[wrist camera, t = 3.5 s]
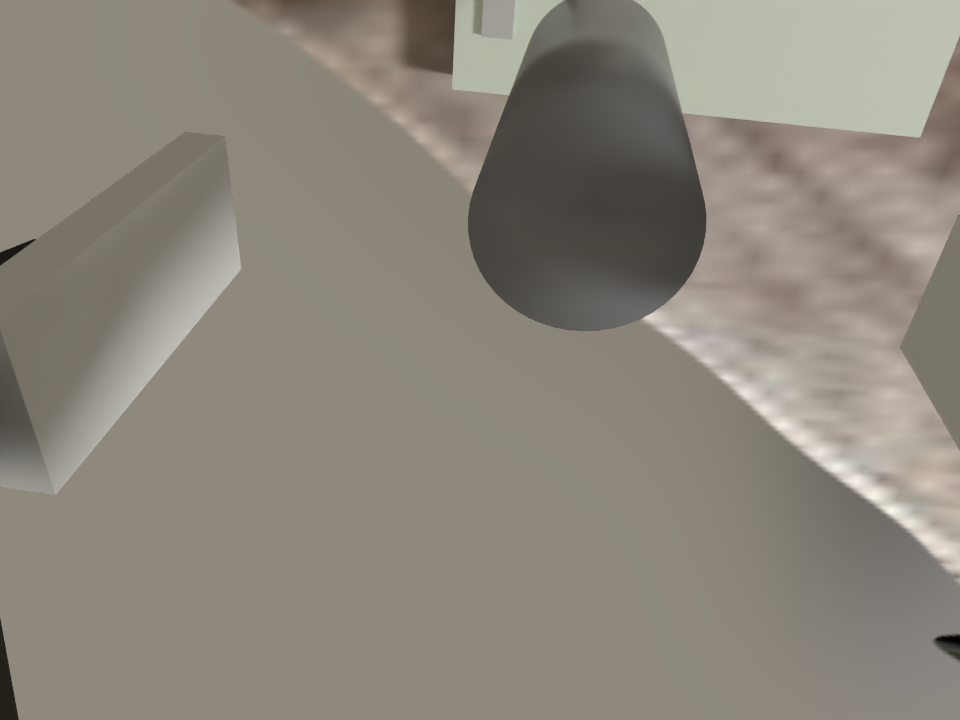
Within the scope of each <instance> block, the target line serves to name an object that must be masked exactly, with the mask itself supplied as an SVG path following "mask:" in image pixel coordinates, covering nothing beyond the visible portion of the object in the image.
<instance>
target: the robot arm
mask: <svg viewBox="0 0 960 720" xmlns="http://www.w3.org/2000/svg"><path fill="white" fill-rule="evenodd" d="M240 270H241V263H240V255H239V247H238V239H237V230H236V223H235V214H234V206H233V199H232V190H231V182H230V174H229V166H228V158H227V149H226V141H225V136H218V135H209V134H199V133H190V132H184V133H183V134H181V135H180V136H179V137H177V138H176V139H175V140H173V141H172V142H170V143H169V144H168V145H166V146H165V147H163V148H162V149H161V150H159V151H158V152H157V153H155V154H154V155H153V156H151V157H150V158H148V159H147V160H146V161H144V162H143V163H141V164H140V165H139V166H137V167H136V168H135V169H133V170H132V171H130V172H129V173H128V174H126V175H125V176H124V177H122V178H121V179H119V180H118V181H117V182H115V183H114V184H112V185H111V186H110V187H108V188H107V189H106V190H104V191H103V192H101V193H100V194H99V195H97V196H96V197H94V198H93V199H92V200H90V201H89V202H88V203H86V204H85V205H84V206H82V207H81V208H80V209H78V210H77V211H75V212H74V213H73V214H71V215H70V216H68V217H67V218H66V219H64V220H63V221H61V222H60V223H59V224H57V225H56V226H55V227H53V228H52V229H51V230H49V231H48V232H46V233H45V234H43V235H42V236H41V237H39V238H38V239H37V240H36V239H33V240H31V241H28V242H26V243H23V244H21V245H18V246H16V247H13V248H10V249H8V250H5V251H3V252H0V483H1V486H2V487H5V488H13V489H19V490H27V491H33V492H40V493H48V494H54V495H56V494H57V492H58V491H59V490H60V489H61V487H62V486H63V485H64V484H65V483H66V481H67V480H68V479H69V478H70V477H71V475H72V474H73V473H74V472H75V471H76V469H77V468H78V467H79V466H80V464H81V463H82V462H83V461H84V460H85V458H86V457H87V456H88V455H89V454H90V452H91V451H92V450H93V449H94V447H95V446H96V445H97V444H98V443H99V441H100V440H101V439H102V438H103V436H104V435H105V434H106V433H107V432H108V430H109V429H110V428H111V427H112V425H113V424H114V423H115V422H116V421H117V419H118V418H119V417H120V415H122V413H123V412H124V411H125V410H126V409H127V407H128V406H129V405H130V404H131V402H132V401H133V400H134V399H135V398H136V396H137V395H138V394H139V392H140V391H141V390H142V389H143V388H144V387H145V385H146V384H147V383H148V382H149V380H150V379H151V378H152V377H153V375H154V374H155V373H156V372H157V371H158V369H159V368H160V367H161V366H162V365H163V363H164V362H165V361H166V359H168V357H169V356H170V355H171V354H172V352H173V351H174V350H175V349H176V348H177V346H178V345H179V344H180V343H181V341H182V340H183V339H184V338H185V337H186V335H187V334H188V333H189V332H190V331H191V329H192V328H193V327H194V326H195V324H196V323H197V322H198V321H199V320H200V318H201V317H202V316H203V315H204V314H205V312H206V311H207V310H208V309H209V307H210V306H211V305H212V304H213V303H214V301H215V300H216V299H217V298H218V296H219V295H220V294H221V293H222V292H223V290H224V289H225V288H226V287H227V285H228V284H229V283H230V282H231V280H232V279H233V278H234V277H235V276H236V275H237V273H238V272H239V271H240ZM900 348H901V350H902V351H903V353H904V355H905V357H906V358H907V360H908V362H909V364H910V365H911V367H912V369H913V370H914V372H915V374H916V376H917V377H918V379H919V381H920V383H921V384H922V386H923V388H924V390H925V391H926V393H927V395H928V396H929V398H930V400H931V402H932V403H933V405H934V407H935V409H936V410H937V412H938V414H939V415H940V417H941V419H942V421H943V422H944V424H945V426H946V428H947V429H948V431H949V433H950V434H951V436H952V438H953V440H954V441H955V443H956V445H957V447H958V448H959V450H960V215H958V217H957V219H956V221H955V224H954V226H953V228H952V231H951V233H950V235H949V237H948V240H947V242H946V244H945V246H944V249H943V251H942V253H941V256H940V258H939V260H938V262H937V265H936V267H935V269H934V271H933V274H932V276H931V278H930V281H929V283H928V285H927V287H926V290H925V292H924V294H923V296H922V299H921V301H920V303H919V306H918V308H917V310H916V312H915V315H914V317H913V319H912V321H911V324H910V326H909V328H908V331H907V333H906V335H905V337H904V340H903V342H902V344H901V346H900ZM0 720H19V719H18V714H17V708H16V702H15V697H14V691H13V686H12V681H11V675H10V669H9V664H8V659H7V653H6V647H5V642H4V636H3V632H2V626H1V620H0Z"/></svg>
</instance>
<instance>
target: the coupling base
mask: <svg viewBox="0 0 960 720" xmlns="http://www.w3.org/2000/svg"><path fill="white" fill-rule="evenodd" d="M563 1H564V0H456V10H455V34H454V58H453V82H452V89H454V90H464V91H474V92H483V93H493V94H503V95H510V92H511V89H512V87H513V84H514V81H515V79H516V76H517V73H518V71H519V68H520V65H521V63H522V60H523V57H524V55H525V52H526V49H527V47H528V44H529V41H530V39H531V37H532V34H533V32H534V31H535V29H536V27H537V25H538V24H539V23H540V21H541V20H542V19H543V17H544V16H545V15H546V14H547V13H548V12H549V11H550V10H551V9H553V8H554V7H555V6H557V5H558V4H559V3H561V2H563ZM644 8H645V9H646V10H647V11H648V12H649V13H650V15H651V16H652V17H653V18H654V20H655V21H656V23H657V24H658V26H659V28H660V30H661V32H662V35H663V37H664V41H665V45H666V49H667V53H668V57H669V61H670V65H671V69H672V73H673V77H674V81H675V85H676V89H677V93H678V97H679V101H680V105H681V109H682V113H686V114H696V115H706V116H715V117H725V118H735V119H744V120H754V121H764V122H773V123H783V124H793V125H802V126H812V127H822V128H831V129H841V130H851V131H860V132H870V133H880V134H889V135H899V136H909V137H918V138H920V136H921V133H922V131H923V128H924V126H925V123H926V121H927V118H928V115H929V113H930V110H931V108H932V105H933V103H934V100H935V98H936V95H937V92H938V90H939V87H940V85H941V82H942V80H943V77H944V74H945V72H946V69H947V67H948V64H949V62H950V59H951V56H952V54H953V51H954V49H955V46H956V44H957V41H958V38H959V36H960V0H646V1H645V7H644Z"/></svg>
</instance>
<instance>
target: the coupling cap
mask: <svg viewBox="0 0 960 720" xmlns="http://www.w3.org/2000/svg"><path fill="white" fill-rule="evenodd" d="M645 1H646V0H564V1H563V2H561V3H559V4H558V5H557V6H555V7H554V8H553V9H551V10H550V11H549V12H548V13H547V14H546V15H545V16H544V17H543V19H542V20H541V21H540V23H539V24H538V25H537V27H536V29H535V31H534V32H533V34H532V37H531V39H530V41H529V44H528V47H527V49H526V52H525V55H524V57H523V60H522V63H521V65H520V68H519V71H518V73H517V76H516V79H515V81H514V84H513V87H512V89H511V92H510V95H509V97H508V100H507V103H506V105H505V108H504V111H503V113H502V116H501V119H500V121H499V124H498V126H497V129H496V132H495V134H494V137H493V140H492V142H491V145H490V148H489V150H488V153H487V156H486V158H485V161H484V164H483V166H482V169H481V172H480V174H479V177H478V180H477V182H476V185H475V188H474V191H473V194H472V198H471V202H470V208H469V215H468V232H469V239H470V245H471V249H472V252H473V256H474V259H475V261H476V263H477V265H478V268H479V270H480V272H481V273H482V275H483V277H484V278H485V280H486V281H487V283H488V284H489V285H490V286H491V288H492V289H493V290H494V291H495V293H496V294H497V295H498V296H500V298H501V299H503V300H504V301H505V302H506V303H507V304H508V305H510V306H511V307H512V308H514V309H515V310H517V311H518V312H520V313H521V314H523V315H525V316H527V317H528V318H531V319H533V320H535V321H538V322H540V323H542V324H546V325H549V326H552V327H556V328H561V329H566V330H576V331H598V330H604V329H611V328H615V327H619V326H623V325H626V324H629V323H631V322H634V321H637V320H639V319H641V318H643V317H645V316H647V315H649V314H651V313H652V312H654V311H655V310H657V309H658V308H660V307H661V306H662V305H664V304H665V303H666V302H667V301H668V300H670V299H671V298H672V297H673V296H674V295H675V294H676V293H677V292H678V291H679V290H680V288H681V287H682V286H683V285H684V284H685V282H686V281H687V279H688V278H689V276H690V275H691V273H692V272H693V270H694V268H695V266H696V264H697V262H698V259H699V257H700V254H701V251H702V248H703V244H704V238H705V233H706V210H705V202H704V197H703V193H702V189H701V185H700V181H699V177H698V173H697V169H696V165H695V161H694V157H693V153H692V149H691V145H690V141H689V137H688V133H687V129H686V125H685V121H684V117H683V113H682V109H681V105H680V101H679V97H678V93H677V89H676V85H675V81H674V77H673V73H672V69H671V65H670V61H669V57H668V53H667V49H666V45H665V41H664V37H663V35H662V32H661V30H660V28H659V26H658V24H657V23H656V21H655V20H654V18H653V17H652V16H651V15H650V13H649V12H648V11H647V10H646V9H645V8H644V7H645Z"/></svg>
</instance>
